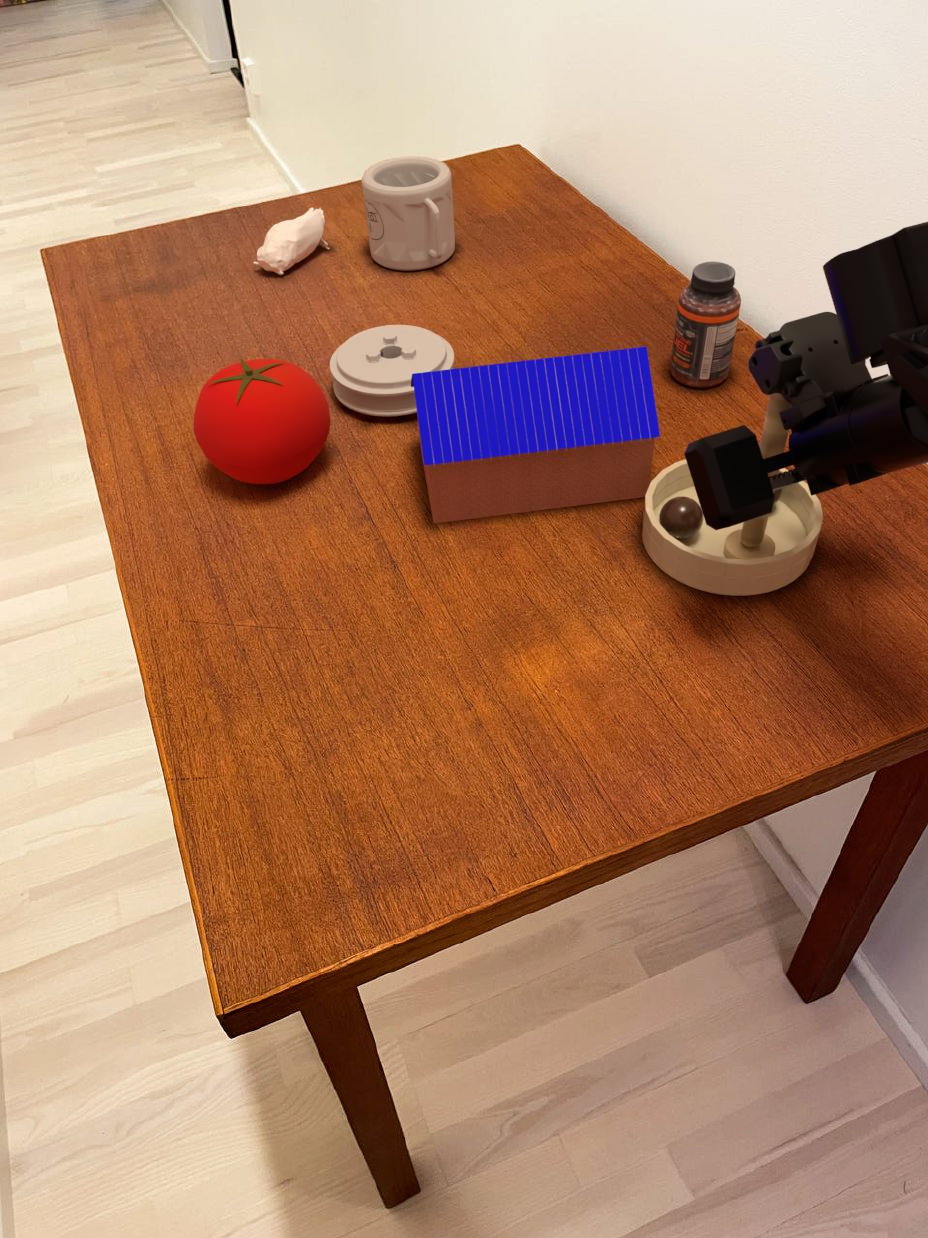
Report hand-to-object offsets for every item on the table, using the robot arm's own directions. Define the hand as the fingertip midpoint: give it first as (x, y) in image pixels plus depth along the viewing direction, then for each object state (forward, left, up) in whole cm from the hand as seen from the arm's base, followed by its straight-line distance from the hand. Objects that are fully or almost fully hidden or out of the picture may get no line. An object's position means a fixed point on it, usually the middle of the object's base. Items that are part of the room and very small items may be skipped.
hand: (753, 470), depth 74 cm
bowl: (+2, 0, -8) cm, 8 cm away
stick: (-1, 0, -7) cm, 8 cm away
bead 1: (+3, +4, -6) cm, 7 cm away
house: (+17, +11, -8) cm, 22 cm away
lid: (+36, +17, -8) cm, 41 cm away
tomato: (+29, +32, -8) cm, 44 cm away
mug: (+63, +4, -8) cm, 64 cm away
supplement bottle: (+24, -12, -8) cm, 28 cm away
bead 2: (+3, -4, -6) cm, 8 cm away
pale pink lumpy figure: (+69, +19, -8) cm, 72 cm away
